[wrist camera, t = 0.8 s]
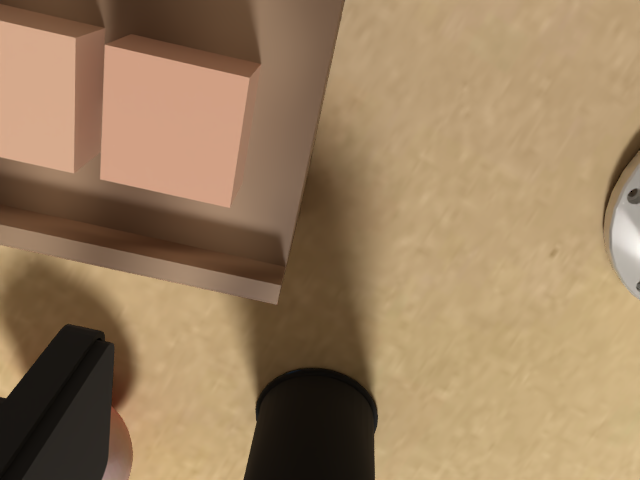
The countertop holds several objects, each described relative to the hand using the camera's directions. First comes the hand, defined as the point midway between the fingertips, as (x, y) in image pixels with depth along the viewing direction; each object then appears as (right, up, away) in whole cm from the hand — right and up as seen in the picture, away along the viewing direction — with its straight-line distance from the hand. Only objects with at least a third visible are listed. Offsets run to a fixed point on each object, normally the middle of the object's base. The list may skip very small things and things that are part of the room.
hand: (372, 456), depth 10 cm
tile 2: (-12, +10, +13) cm, 20 cm away
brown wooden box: (-8, +12, +20) cm, 24 cm away
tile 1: (-6, +9, +13) cm, 17 cm away
